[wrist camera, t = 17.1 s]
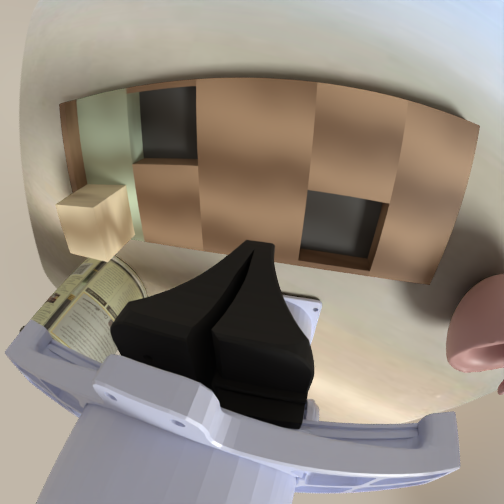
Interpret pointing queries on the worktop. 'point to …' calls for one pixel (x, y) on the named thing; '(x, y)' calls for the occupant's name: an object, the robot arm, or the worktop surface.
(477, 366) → the pink mushroom
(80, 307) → the coffee can
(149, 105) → the board
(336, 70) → the worktop surface
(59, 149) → the worktop surface
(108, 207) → the block
